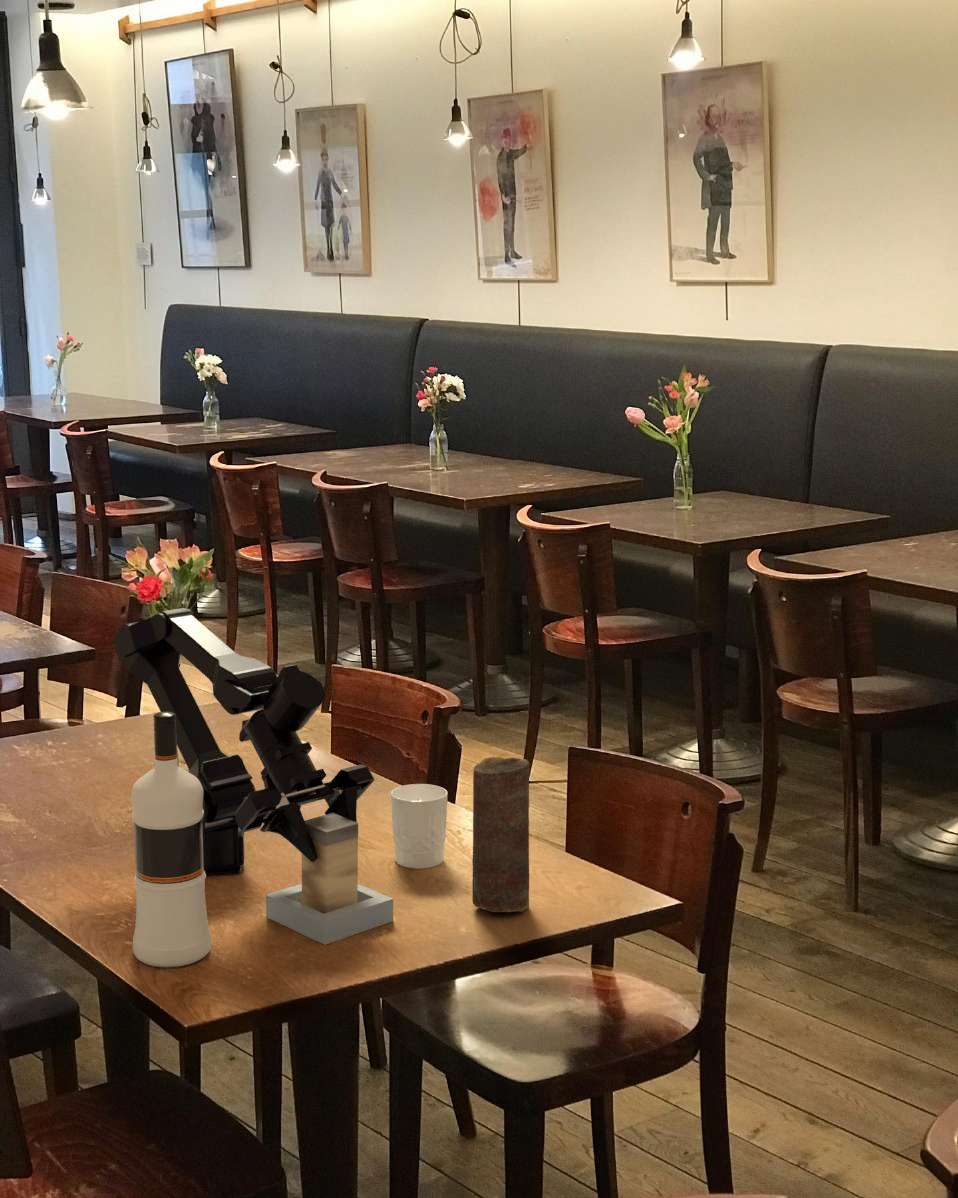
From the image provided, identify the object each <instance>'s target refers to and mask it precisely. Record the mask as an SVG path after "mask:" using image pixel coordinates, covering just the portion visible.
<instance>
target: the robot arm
mask: <svg viewBox="0 0 958 1198" xmlns="http://www.w3.org/2000/svg"><path fill="white" fill-rule="evenodd" d="M113 649H114V651H115V654H116V655H117V657H118V658H119V660H120V661H121V663H122V664H123V666H124V667H125V669H126V670H127V672H128V673H129V674H130V675H132V676H133V677H135V678H137V679H138V680H140V682H143V683H144V684H146V685H147V687H148V689H149V691H150V692H151V695H152V697H153V699H154V702H155V703H156V705H157V707H158V710H159V711H160V712H173V713H175V715H176V717H175V718H176V742H177V749H178V750H179V752H180V754H181V756H182V758H183V760H184V762H185V764H186V766H187V768H188V772H189V773H190V774H192V775H194V776H195V777H197V779H198V780H199V781H200V783H201V785H202V788H203V807H202V809H203V810H204V815H203V817H202V829H203V864H204V871H205V873H206V876H213V875H214V876H216V875H239V874H241V868H242V866H244V865H245V859H246V857H245V833H246V832H251V831H253V830H257V829H259V830H260V832H263V833H267V832H269V833H274V834H279V835H280V836H282V837H283V838H284V839H286V841H288V842H289V843H290V844H291V845H293V847H295V848H296V849H297V850H298V851H299V852H300V853H301V855H302V854H303V855H304V856H306V857H307V858H308V859H309V860H310V861H311V862H315V861H316V860H317V858H318V857H317V853H316V850H315V846H314V843H313V841H312V838H311V836H310V833H309V831H308V828H307V826H306V823H305V818H304V815H303V813H302V811H301V807H302V805H307V804H310V803H314V802H317V801H322V800H325V802H326V804H327V806H328V808H327V809H326V810H325V812H324V815H327V814H330V813H335V814H337V815H340V816H342V817H344V818H347V819H349V820H352V821H354V822H357V821H358V820H357V817H358V816H357V808H358V807H357V803H358V800H359V798H360V797H361V796H362V795H363V794H364V793H365V792H366V790H368V788H369V787H370V786H371V785H372V784H373V783H374V781H376V779H375V778H374V776H373V774H372V771H371V770H370V768H369V767H368V766H367V765H364V764H362V763H361V764H357V765H353V766H350V767H346V768H342V769H340V770H339V771H338V772H337V773H336V774H335V775H334V777H333V778H332V780H331V781H329V782H328V781H327V782H323V780H325V778H326V777H327V774H326V772H325V769H324V768H321V769H316V767H315V765H314V762H313V761H312V759H311V757H310V755H309V753H310V752H311V751H312V750H313V747H312V746H311V745H312V744H311V743H310V742H309V741H308V742H307V741H306V742H304V743H303V742H302V740H301V738H300V737H299V735H298V731H300V730H302V729H303V728H304V727H305V726H306V724H308V722H309V720H310V719H311V718H312V717H313V715H314V714H315V713H316V712H317V710H318V709H319V707H320V706H321V705H322V704H323V702H324V700H325V697H326V693H325V688H324V686H323V684H322V682H321V681H319V680H317V678H315V677H314V676H313V675H311V674H309V673H307V672H305V671H301V670H300V669H299V667H298V665H297V664H291V665H287V666H286V665H285V666H283V667H282V668H281V669H280V671H279V674H277V673H276V672H275V671H274V669H273V668H272V667H271V666H269V665H268V664H266V663H264V662H263V661H260V660H259V659H256V658H253V657H248V656H243V655H240V654H238V653H237V652H235V651H234V650H232V648H230V647H229V646H228V645H227V644H226V643H225V642H224V641H222V640H221V638H220V637H218V636H217V635H216V634H214V633H213V632H212V631H211V630H209V628H207V627H206V626H205V625H203V624H202V622H200V621H199V620H198V619H197V618H196V616H195V613H194V612H193V610H191V609H189V608H185V607H182V608H174V609H168V610H160V611H159V612H158V613H156V614H154V615H152V616H151V617H149V618H146V619H143V620H141V621H137V622H130V623H125V624H121V626H120V627H119V629H118V631H117V633H115V635H114V637H113ZM181 656H182V657H183V658H184V659H186V661H188V662H189V663H190V664H192V665H193V666H194V667H195V668H196V669H197V670H198V671H199V672H200V673H202V675H204V676H205V677H206V678H207V679H208V680H209V681H210V682H211V685H212V695H213V697H214V698H215V699H216V701H217V702H218V703H219V704H220V706H221V707H222V708H223V709H224V710H225V712H227V713H228V714H229V715H232V716H236V715H241V714H245V713H250V712H254V711H255V712H254V713H252V715H251V716H250V718H248V719H244V720H242V721H241V729H240V731H239V735H238V736H239V737H238V740H239V741H240V742H241V743H243V742H248V741H250V742H251V745H252V746H253V748H254V750H255V752H256V755H257V756H258V758H259V760H260V762H261V763H262V766H263V769H262V770H261V771H260V776H261V780H262V781H263V786H264V788H262V789H259V790H256V787H255V785H254V783H253V782H252V780H253V776H252V775H251V774H250V773H249V772H248V770H247V768H246V766H245V763H244V760H243V758H242V757H241V756H240V755H239V754H233V755H227V754H225V753H223V752H222V750H221V748H220V747H219V744H218V742H217V740H216V738H215V737H214V735H213V732H212V731H211V728H210V727H209V725H208V723H207V721H206V719H205V717H204V715H203V713H202V711H201V708H200V707H199V705H198V702H196V699H195V697H194V696H193V693H192V691H191V689H190V687H189V685H188V683H187V680H186V679H185V677H184V675H183V673H182V671H181V669H180V659H181ZM357 823H358V822H357Z"/></svg>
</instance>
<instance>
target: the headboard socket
mask: <svg viewBox="0 0 958 1198" xmlns="http://www.w3.org/2000/svg"><path fill="white" fill-rule="evenodd" d="M265 917H266V918H267V919H269V920H271V921H274V922H276V923H278V924H280V925H282V926H284V927H286V928H289V929H290V930H293V931H295V932H296V933H299V934H301V935H303V936H305V937H307V938H310V939H311V940H314V941H316V942H318V943H320V944H322V945H324V946H326V945H328V944H332V943H334V942H338V941H340V940H343V939H345V938H349V937H351V936H354V935H358V934H359V933H360V934H361V933H363V932H367V931H369V930H371V929H374V928H377V927H380V926H383V925H386V924H389V923H391V922H394V898H392V897H389V896H387V895H385V894H383V893H381V892H378V891H376V890H373V889H371V888H369V887H367V886H364V885H361V884H360V883H358V893H357V903H355V904H352V905H349V906H346V907H343V908H340V909H337V910H334V911H331V912H328V913H325V914H323V913H321V912H319V911H316V910H314V909H312V908H310V907H308V906H305V905H303V904H302V883H300V884H296V885H293V886H290V887H286V888H283V889H280V890H277V891H273V892H270V893H267V894H265Z"/></svg>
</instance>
